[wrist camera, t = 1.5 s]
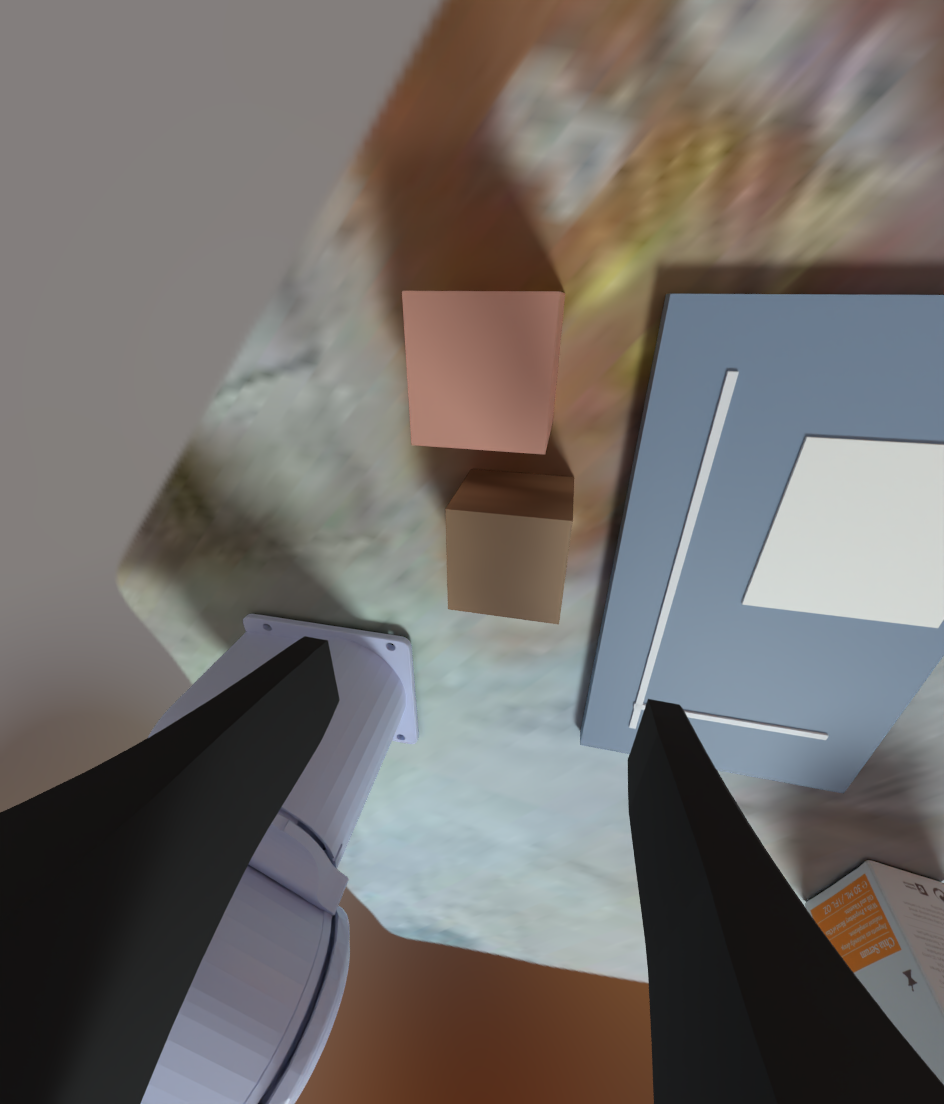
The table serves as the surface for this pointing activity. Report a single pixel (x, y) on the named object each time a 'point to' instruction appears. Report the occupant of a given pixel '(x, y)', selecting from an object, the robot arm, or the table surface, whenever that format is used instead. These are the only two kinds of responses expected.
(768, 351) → the board
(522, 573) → the walnut block
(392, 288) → the table surface
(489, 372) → the brick red block
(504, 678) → the table surface
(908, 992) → the skincare box
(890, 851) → the table surface
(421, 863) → the table surface
